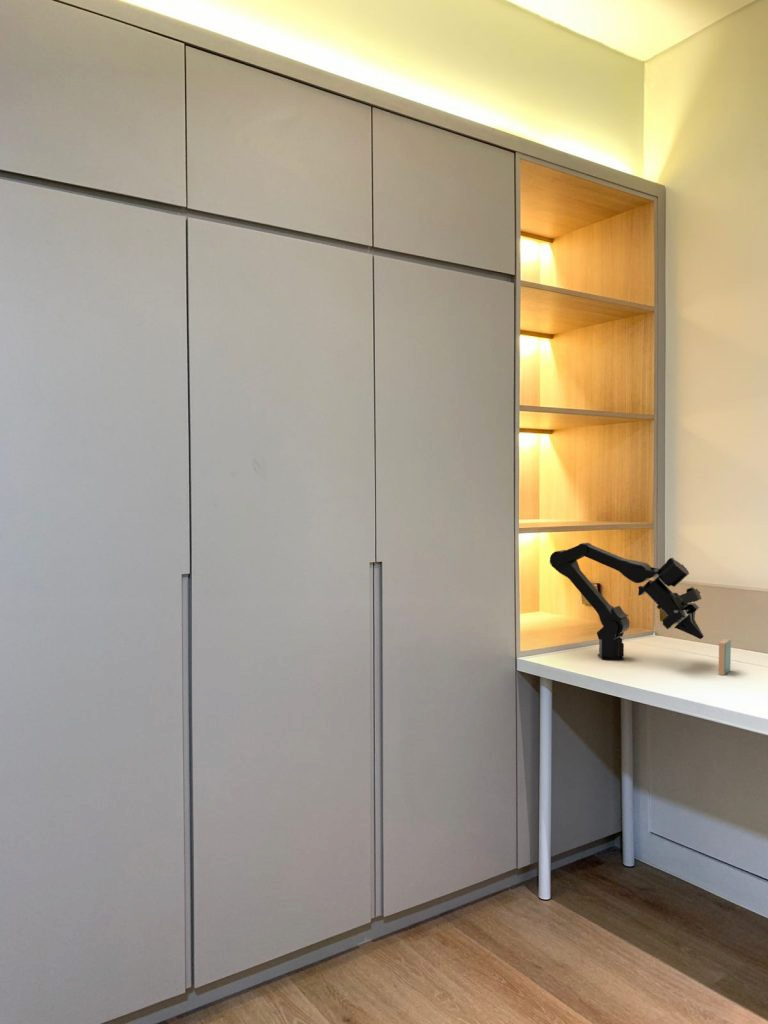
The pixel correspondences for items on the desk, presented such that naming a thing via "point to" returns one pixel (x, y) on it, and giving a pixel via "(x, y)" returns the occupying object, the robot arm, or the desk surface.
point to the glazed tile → (724, 656)
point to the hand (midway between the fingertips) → (702, 637)
